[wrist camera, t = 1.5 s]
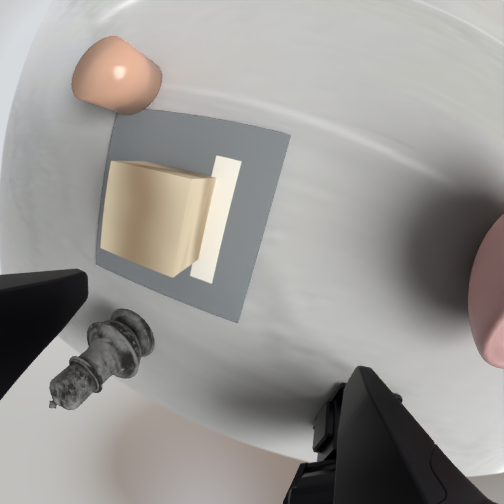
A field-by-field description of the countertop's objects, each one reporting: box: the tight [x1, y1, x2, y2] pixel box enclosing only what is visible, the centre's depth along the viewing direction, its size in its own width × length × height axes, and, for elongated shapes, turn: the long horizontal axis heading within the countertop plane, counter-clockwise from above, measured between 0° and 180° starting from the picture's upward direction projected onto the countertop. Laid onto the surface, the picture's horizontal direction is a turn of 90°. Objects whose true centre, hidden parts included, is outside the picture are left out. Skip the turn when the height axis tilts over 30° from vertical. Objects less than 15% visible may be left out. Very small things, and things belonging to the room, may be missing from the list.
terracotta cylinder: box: [72, 36, 162, 115], centre depth 16 cm, size 5×5×5 cm
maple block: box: [100, 161, 216, 278], centre depth 18 cm, size 6×6×4 cm
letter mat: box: [96, 109, 290, 323], centre depth 20 cm, size 14×14×1 cm
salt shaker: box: [49, 309, 155, 410], centre depth 19 cm, size 6×6×12 cm
